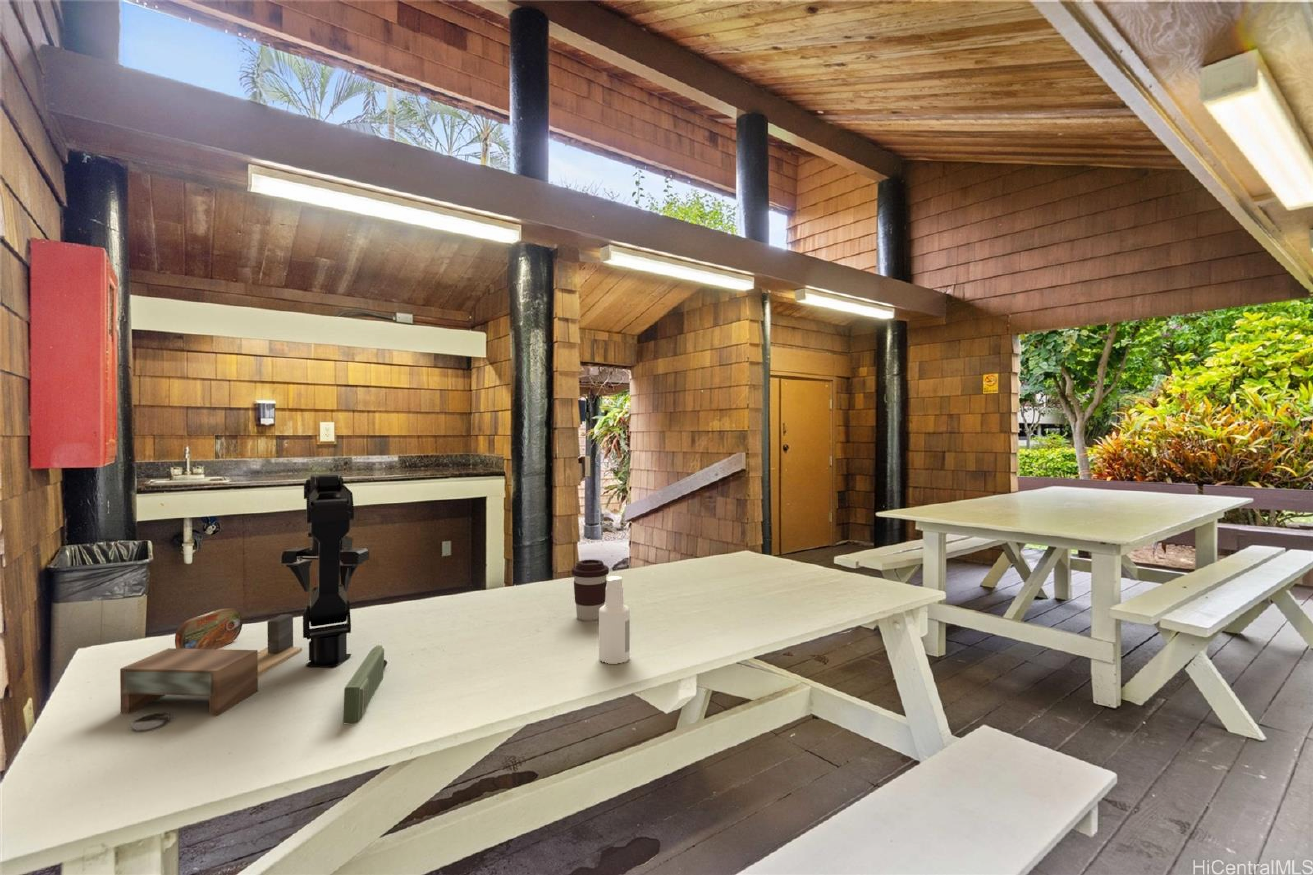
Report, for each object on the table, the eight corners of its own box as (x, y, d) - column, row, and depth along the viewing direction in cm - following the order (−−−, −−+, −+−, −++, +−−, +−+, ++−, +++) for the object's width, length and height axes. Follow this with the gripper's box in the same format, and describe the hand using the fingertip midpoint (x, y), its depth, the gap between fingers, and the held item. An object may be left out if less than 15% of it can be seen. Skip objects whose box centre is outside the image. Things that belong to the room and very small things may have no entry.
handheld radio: (339, 726, 103) (375, 669, 128) (360, 724, 104) (391, 668, 128) (341, 687, 103) (376, 637, 128) (361, 686, 104) (393, 637, 128)
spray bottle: (636, 658, 133) (636, 577, 133) (613, 667, 128) (613, 583, 128) (615, 650, 138) (615, 572, 138) (592, 659, 133) (592, 578, 133)
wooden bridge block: (257, 691, 116) (257, 650, 116) (216, 716, 106) (216, 671, 106) (168, 689, 117) (168, 648, 117) (119, 714, 107) (118, 669, 107)
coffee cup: (606, 623, 158) (606, 566, 157) (569, 623, 158) (569, 566, 157) (610, 611, 167) (610, 558, 167) (574, 611, 168) (574, 557, 167)
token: (177, 719, 106) (177, 713, 106) (152, 734, 101) (152, 727, 101) (149, 719, 106) (149, 712, 106) (123, 733, 101) (123, 726, 101)
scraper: (304, 649, 139) (304, 614, 138) (231, 692, 116) (231, 650, 116) (271, 648, 139) (270, 614, 139) (191, 691, 116) (191, 650, 116)
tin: (183, 662, 131) (183, 623, 131) (171, 661, 132) (171, 622, 132) (243, 638, 146) (243, 604, 146) (232, 637, 146) (232, 603, 146)
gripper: (380, 521, 151) (381, 583, 151) (308, 521, 152) (309, 582, 152) (356, 528, 140) (356, 595, 140) (278, 528, 140) (279, 594, 141)
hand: (325, 591), depth 143 cm, fingers open, 9 cm apart
